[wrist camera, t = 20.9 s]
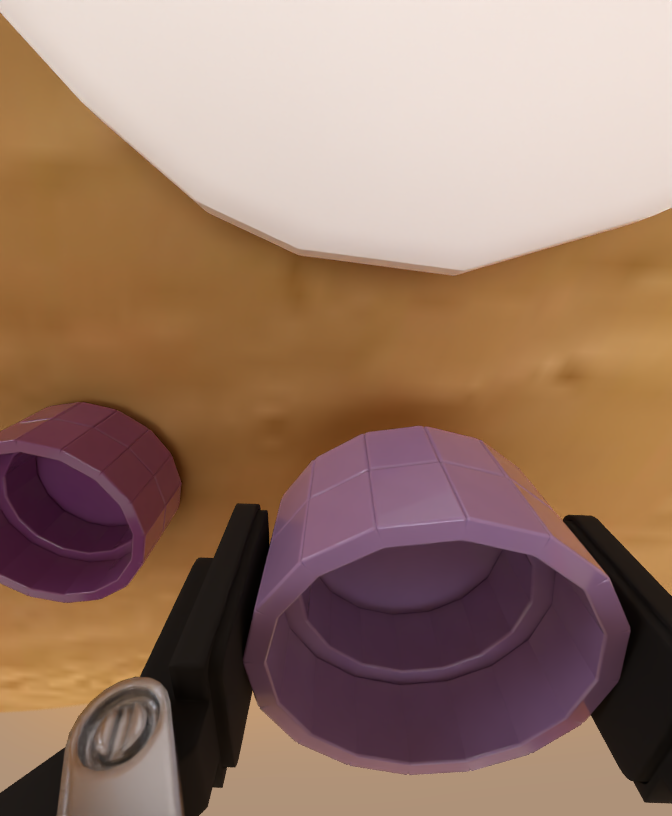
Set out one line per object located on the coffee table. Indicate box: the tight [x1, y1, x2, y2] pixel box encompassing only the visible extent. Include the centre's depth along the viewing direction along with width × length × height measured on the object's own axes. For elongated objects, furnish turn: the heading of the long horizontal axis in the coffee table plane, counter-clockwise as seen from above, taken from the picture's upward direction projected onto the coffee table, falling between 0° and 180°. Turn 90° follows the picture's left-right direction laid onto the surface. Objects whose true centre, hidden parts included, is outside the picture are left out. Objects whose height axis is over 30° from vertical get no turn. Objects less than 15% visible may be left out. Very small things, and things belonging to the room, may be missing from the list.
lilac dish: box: [243, 426, 631, 775], centre depth 9 cm, size 7×7×4 cm
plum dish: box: [0, 402, 182, 603], centre depth 15 cm, size 7×7×4 cm
